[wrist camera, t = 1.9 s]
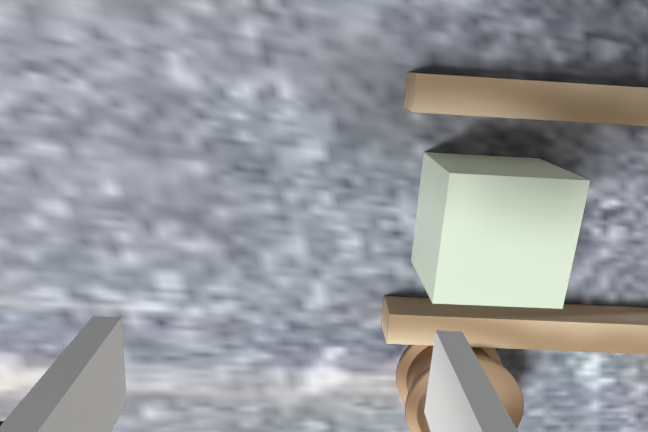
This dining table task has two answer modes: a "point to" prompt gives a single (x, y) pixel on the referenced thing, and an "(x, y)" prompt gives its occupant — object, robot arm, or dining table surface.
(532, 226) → the pale green block
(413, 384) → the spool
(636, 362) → the dining table surface
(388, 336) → the track
